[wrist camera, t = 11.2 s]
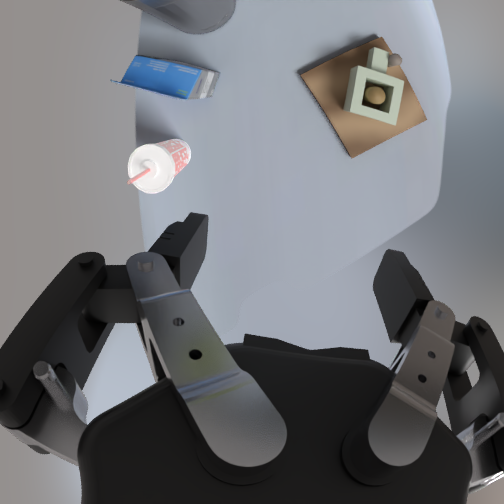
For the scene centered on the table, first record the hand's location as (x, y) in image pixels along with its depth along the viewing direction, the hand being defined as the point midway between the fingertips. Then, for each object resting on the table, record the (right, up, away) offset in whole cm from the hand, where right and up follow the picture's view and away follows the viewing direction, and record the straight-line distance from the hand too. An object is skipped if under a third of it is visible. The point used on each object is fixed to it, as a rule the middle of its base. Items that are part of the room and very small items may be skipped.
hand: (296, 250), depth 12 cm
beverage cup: (-13, +14, +26) cm, 33 cm away
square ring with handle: (+13, +22, +17) cm, 31 cm away
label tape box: (-11, +24, +21) cm, 33 cm away
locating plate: (+13, +21, +19) cm, 31 cm away
